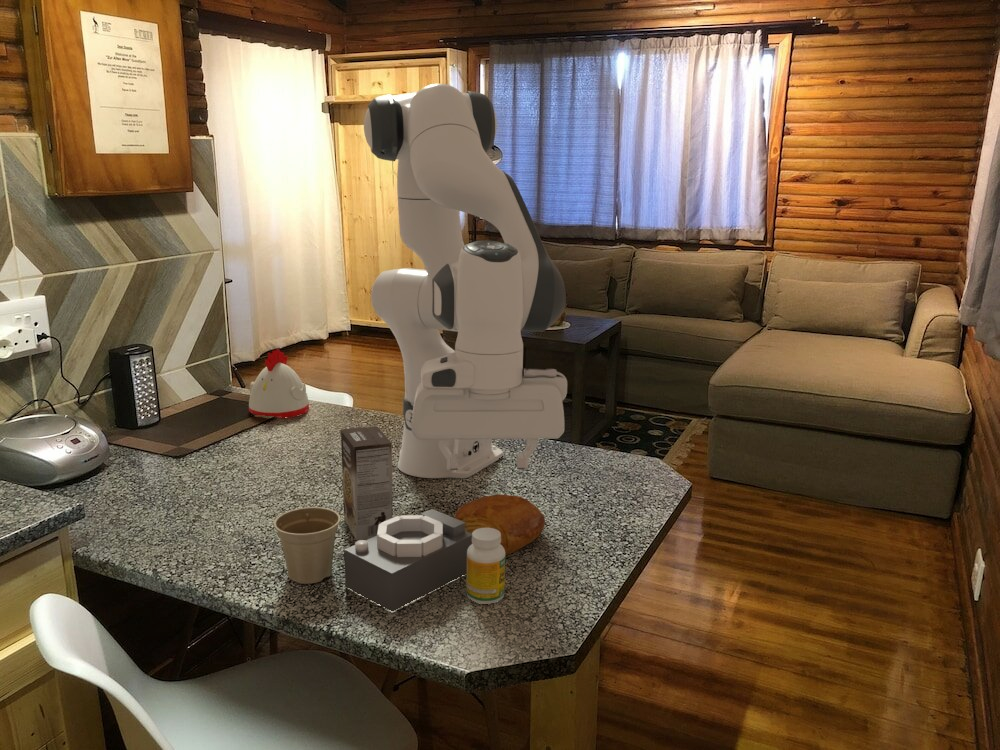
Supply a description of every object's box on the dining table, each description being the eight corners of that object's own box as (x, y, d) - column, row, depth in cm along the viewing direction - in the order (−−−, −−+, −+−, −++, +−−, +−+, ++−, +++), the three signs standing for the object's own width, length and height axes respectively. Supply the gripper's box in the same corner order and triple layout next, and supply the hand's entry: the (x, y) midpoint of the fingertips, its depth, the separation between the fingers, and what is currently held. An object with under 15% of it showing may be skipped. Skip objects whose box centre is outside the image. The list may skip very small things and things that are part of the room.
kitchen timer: (237, 415, 191) (233, 353, 187) (270, 400, 204) (267, 341, 200) (288, 422, 187) (285, 359, 183) (319, 406, 200) (317, 346, 196)
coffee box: (342, 519, 137) (339, 428, 133) (379, 513, 140) (377, 424, 136) (355, 542, 129) (352, 446, 125) (394, 535, 132) (392, 441, 128)
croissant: (557, 548, 133) (564, 502, 132) (496, 570, 121) (503, 520, 120) (491, 520, 142) (497, 477, 141) (428, 538, 130) (434, 491, 129)
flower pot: (267, 569, 120) (263, 515, 118) (326, 553, 125) (324, 501, 123) (290, 597, 113) (287, 540, 111) (353, 578, 118) (351, 524, 116)
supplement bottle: (466, 586, 117) (467, 524, 114) (503, 586, 117) (505, 524, 114) (466, 606, 111) (466, 542, 109) (505, 606, 112) (506, 542, 109)
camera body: (426, 549, 127) (426, 502, 125) (473, 571, 121) (474, 521, 119) (345, 587, 115) (343, 536, 113) (392, 613, 109) (391, 559, 107)
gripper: (564, 363, 109) (560, 459, 113) (412, 362, 108) (413, 460, 111) (571, 375, 103) (567, 476, 107) (410, 375, 102) (411, 477, 105)
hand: (487, 468), depth 109 cm, fingers open, 8 cm apart
